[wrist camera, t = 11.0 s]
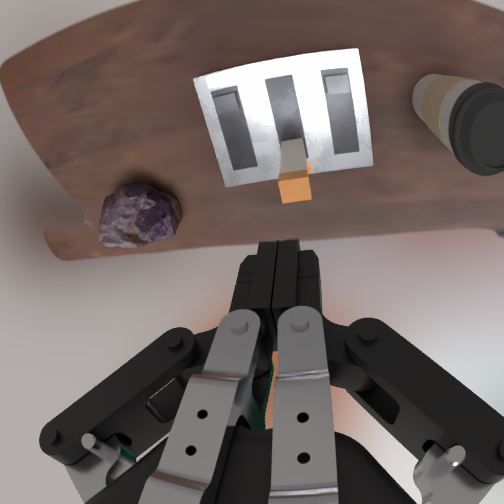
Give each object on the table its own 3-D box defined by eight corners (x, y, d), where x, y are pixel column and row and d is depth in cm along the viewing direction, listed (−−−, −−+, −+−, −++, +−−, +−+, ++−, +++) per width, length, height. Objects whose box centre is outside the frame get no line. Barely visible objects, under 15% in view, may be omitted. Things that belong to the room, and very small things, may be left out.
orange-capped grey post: (302, 137, 34) (308, 176, 25) (305, 154, 35) (311, 199, 27) (280, 140, 34) (278, 181, 26) (284, 157, 36) (282, 203, 27)
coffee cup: (389, 89, 32) (443, 122, 20) (441, 52, 27) (514, 70, 15) (427, 145, 35) (483, 202, 23) (475, 110, 31) (544, 154, 19)
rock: (188, 218, 48) (166, 158, 42) (182, 253, 41) (154, 185, 35) (121, 235, 49) (95, 181, 43) (106, 270, 42) (73, 211, 36)
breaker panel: (352, 47, 29) (359, 48, 26) (367, 156, 37) (374, 169, 34) (199, 75, 33) (190, 79, 30) (229, 177, 41) (224, 191, 38)
